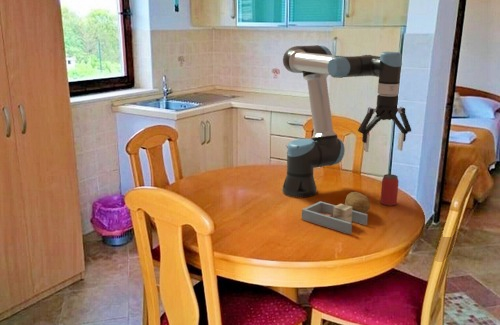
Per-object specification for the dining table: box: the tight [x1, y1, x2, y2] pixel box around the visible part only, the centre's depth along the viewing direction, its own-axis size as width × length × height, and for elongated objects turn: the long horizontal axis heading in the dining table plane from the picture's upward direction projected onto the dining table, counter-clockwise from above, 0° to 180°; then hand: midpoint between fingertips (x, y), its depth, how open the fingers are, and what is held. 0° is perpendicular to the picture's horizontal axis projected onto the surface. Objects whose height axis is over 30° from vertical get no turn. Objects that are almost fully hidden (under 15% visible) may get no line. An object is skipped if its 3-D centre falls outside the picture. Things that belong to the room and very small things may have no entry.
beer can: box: [380, 173, 399, 207], centre depth 205 cm, size 7×7×12 cm
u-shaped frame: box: [301, 200, 368, 235], centre depth 187 cm, size 21×12×4 cm, turn 48°
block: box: [332, 203, 353, 224], centre depth 185 cm, size 5×5×7 cm
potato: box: [344, 191, 371, 214], centre depth 195 cm, size 10×14×8 cm
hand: (382, 150), depth 189 cm, fingers open, 13 cm apart
